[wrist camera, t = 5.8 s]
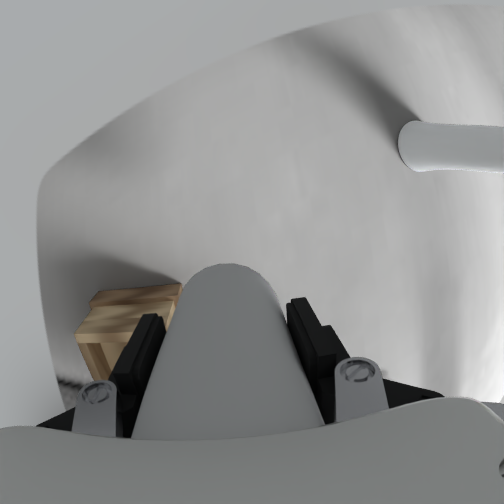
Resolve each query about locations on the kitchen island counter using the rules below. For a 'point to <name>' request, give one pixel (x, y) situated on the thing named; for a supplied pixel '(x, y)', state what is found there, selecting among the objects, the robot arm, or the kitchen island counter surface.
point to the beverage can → (226, 364)
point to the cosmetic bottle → (452, 147)
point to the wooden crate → (120, 322)
